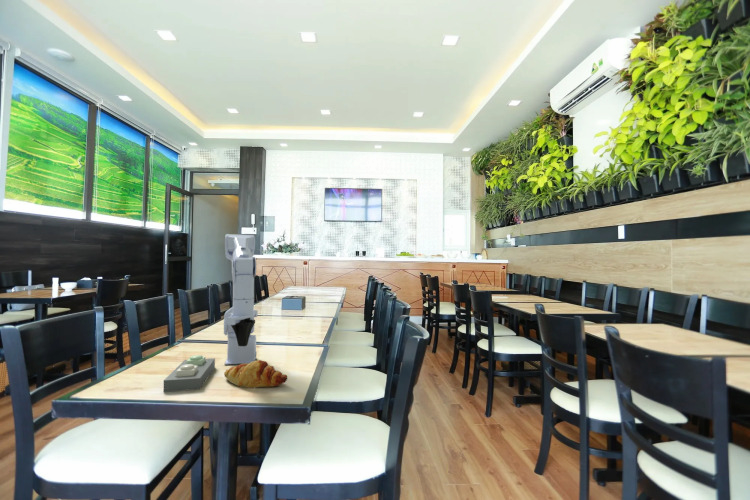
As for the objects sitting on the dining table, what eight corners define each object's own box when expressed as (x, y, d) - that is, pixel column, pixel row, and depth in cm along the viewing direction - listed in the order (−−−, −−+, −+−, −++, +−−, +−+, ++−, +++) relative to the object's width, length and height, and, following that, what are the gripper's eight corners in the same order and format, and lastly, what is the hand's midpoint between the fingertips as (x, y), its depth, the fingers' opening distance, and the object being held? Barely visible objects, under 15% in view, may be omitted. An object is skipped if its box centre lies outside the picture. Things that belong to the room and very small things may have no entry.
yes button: (205, 365, 116) (205, 354, 116) (202, 370, 111) (202, 358, 112) (190, 366, 115) (190, 355, 115) (186, 370, 110) (186, 358, 111)
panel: (214, 367, 119) (214, 358, 119) (199, 389, 99) (200, 378, 100) (184, 369, 117) (184, 359, 117) (163, 391, 97) (163, 380, 97)
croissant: (217, 394, 105) (208, 373, 102) (238, 368, 114) (229, 348, 111) (282, 401, 99) (274, 379, 96) (298, 374, 108) (291, 353, 104)
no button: (197, 375, 106) (197, 363, 106) (193, 380, 102) (193, 367, 102) (180, 376, 105) (181, 364, 105) (176, 381, 101) (176, 368, 101)
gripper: (242, 295, 114) (241, 339, 113) (216, 301, 99) (215, 351, 99) (264, 296, 113) (263, 340, 113) (241, 301, 98) (240, 352, 98)
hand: (242, 345), depth 106 cm, fingers closed
